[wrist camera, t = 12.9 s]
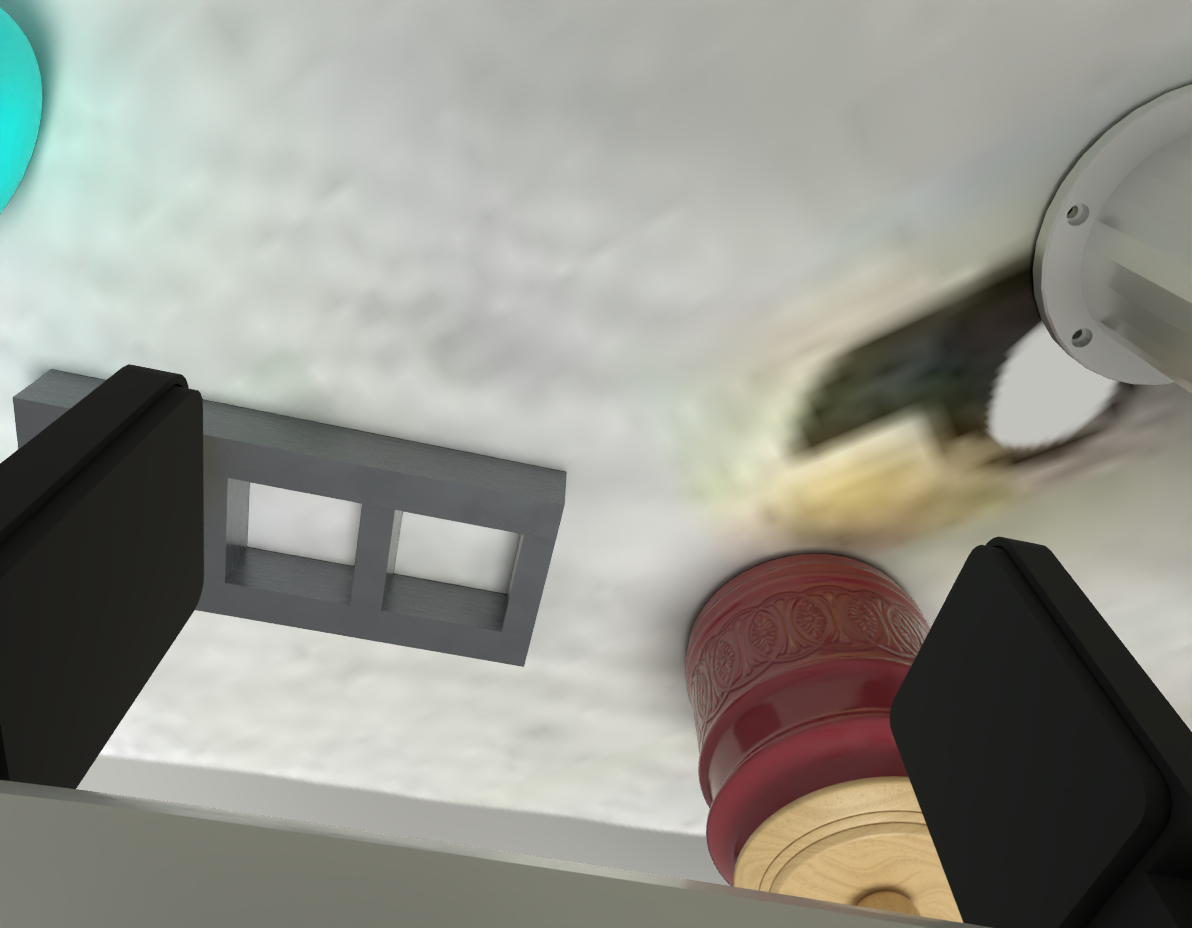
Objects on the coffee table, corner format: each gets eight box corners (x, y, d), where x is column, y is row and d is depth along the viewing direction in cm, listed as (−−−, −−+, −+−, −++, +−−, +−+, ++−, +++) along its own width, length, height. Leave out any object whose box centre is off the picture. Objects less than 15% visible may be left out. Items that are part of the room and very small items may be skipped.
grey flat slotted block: (566, 472, 42) (564, 504, 39) (527, 628, 47) (523, 666, 44) (51, 369, 39) (12, 397, 37) (66, 546, 44) (32, 581, 42)
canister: (970, 633, 47) (1152, 951, 32) (795, 761, 52) (879, 1091, 36) (807, 502, 43) (926, 793, 28) (633, 653, 48) (651, 974, 32)
